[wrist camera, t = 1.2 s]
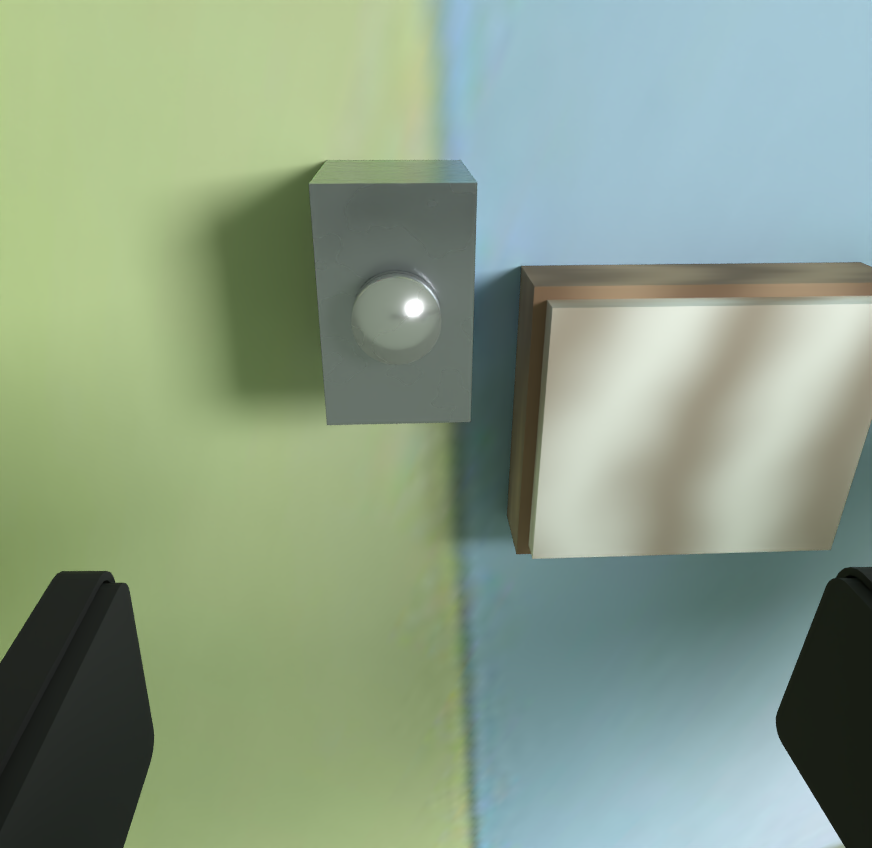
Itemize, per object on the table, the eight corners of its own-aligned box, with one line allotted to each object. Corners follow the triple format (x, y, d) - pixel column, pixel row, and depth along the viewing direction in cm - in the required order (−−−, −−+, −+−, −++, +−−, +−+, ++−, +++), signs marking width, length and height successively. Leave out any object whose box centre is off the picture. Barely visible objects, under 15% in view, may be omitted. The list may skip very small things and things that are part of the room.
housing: (460, 159, 26) (480, 188, 20) (457, 358, 30) (473, 434, 24) (326, 160, 26) (304, 188, 20) (339, 360, 30) (324, 438, 23)
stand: (860, 262, 29) (926, 289, 25) (792, 507, 34) (838, 558, 31) (521, 265, 28) (539, 294, 25) (506, 515, 34) (520, 568, 30)
